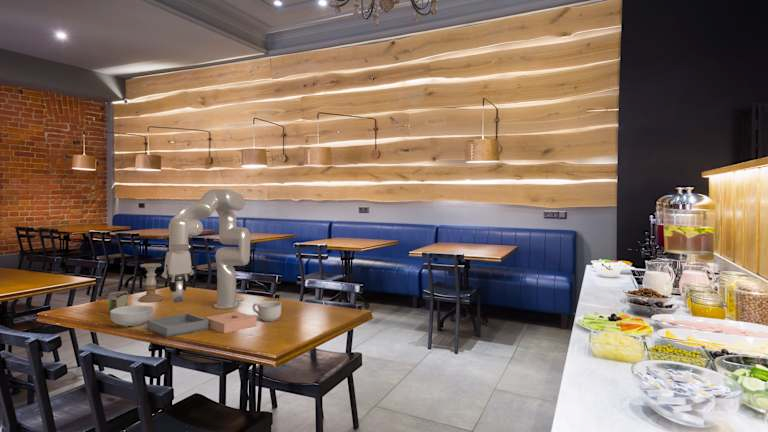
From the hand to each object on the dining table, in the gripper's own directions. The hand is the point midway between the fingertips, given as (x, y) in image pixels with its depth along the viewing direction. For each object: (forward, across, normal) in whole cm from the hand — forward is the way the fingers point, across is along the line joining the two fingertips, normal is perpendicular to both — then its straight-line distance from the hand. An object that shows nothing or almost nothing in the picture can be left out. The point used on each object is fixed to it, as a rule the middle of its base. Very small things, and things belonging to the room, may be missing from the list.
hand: (178, 290), depth 194 cm
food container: (+17, +7, -49) cm, 52 cm away
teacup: (+17, -36, +14) cm, 42 cm away
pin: (+5, 0, 0) cm, 5 cm away
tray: (+17, 0, 0) cm, 17 cm away
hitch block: (+17, -18, +12) cm, 28 cm away
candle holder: (+17, -18, -68) cm, 72 cm away
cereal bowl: (+17, +10, -22) cm, 30 cm away
